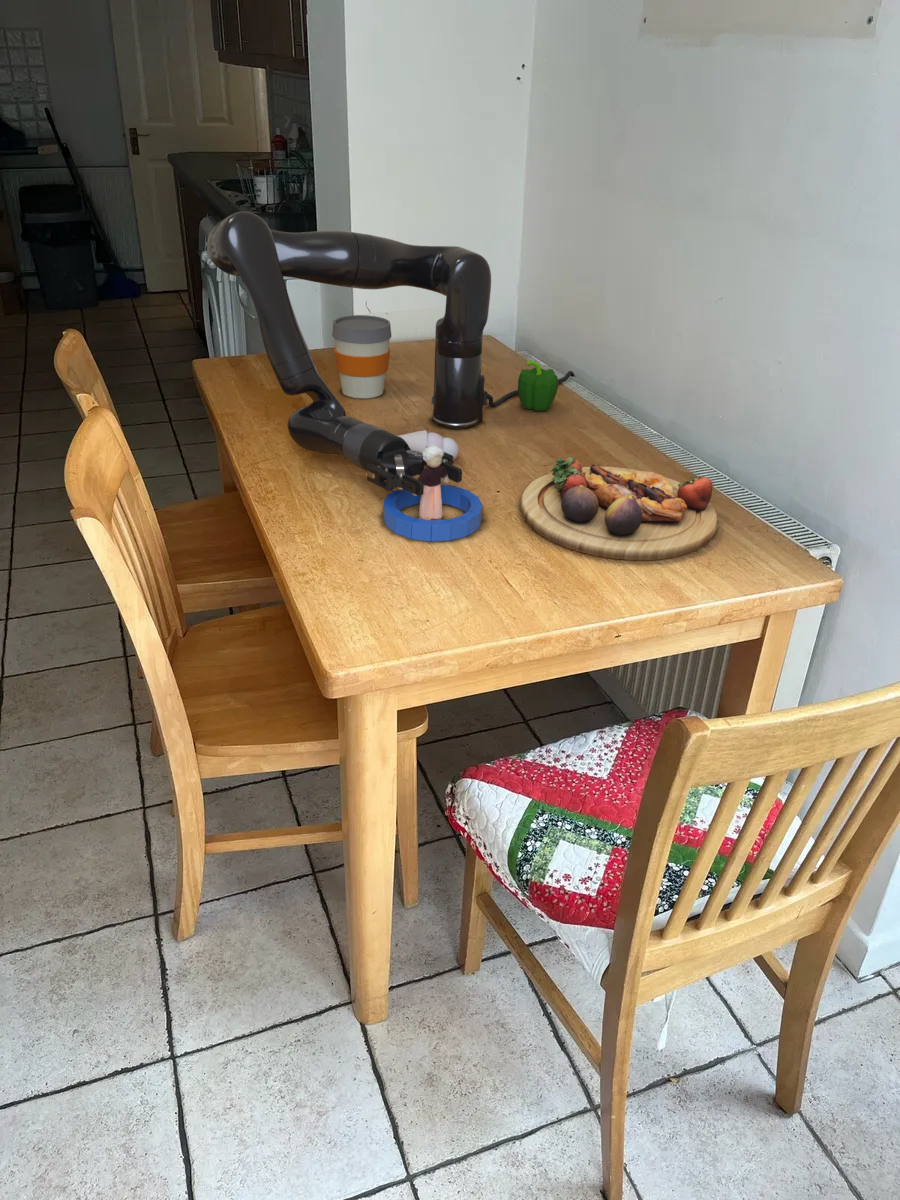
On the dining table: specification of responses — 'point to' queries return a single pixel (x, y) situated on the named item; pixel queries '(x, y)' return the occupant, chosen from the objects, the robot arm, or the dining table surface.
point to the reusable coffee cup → (362, 354)
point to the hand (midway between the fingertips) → (441, 482)
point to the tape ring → (433, 528)
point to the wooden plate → (620, 511)
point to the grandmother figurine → (432, 484)
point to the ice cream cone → (430, 442)
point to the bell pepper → (537, 387)
